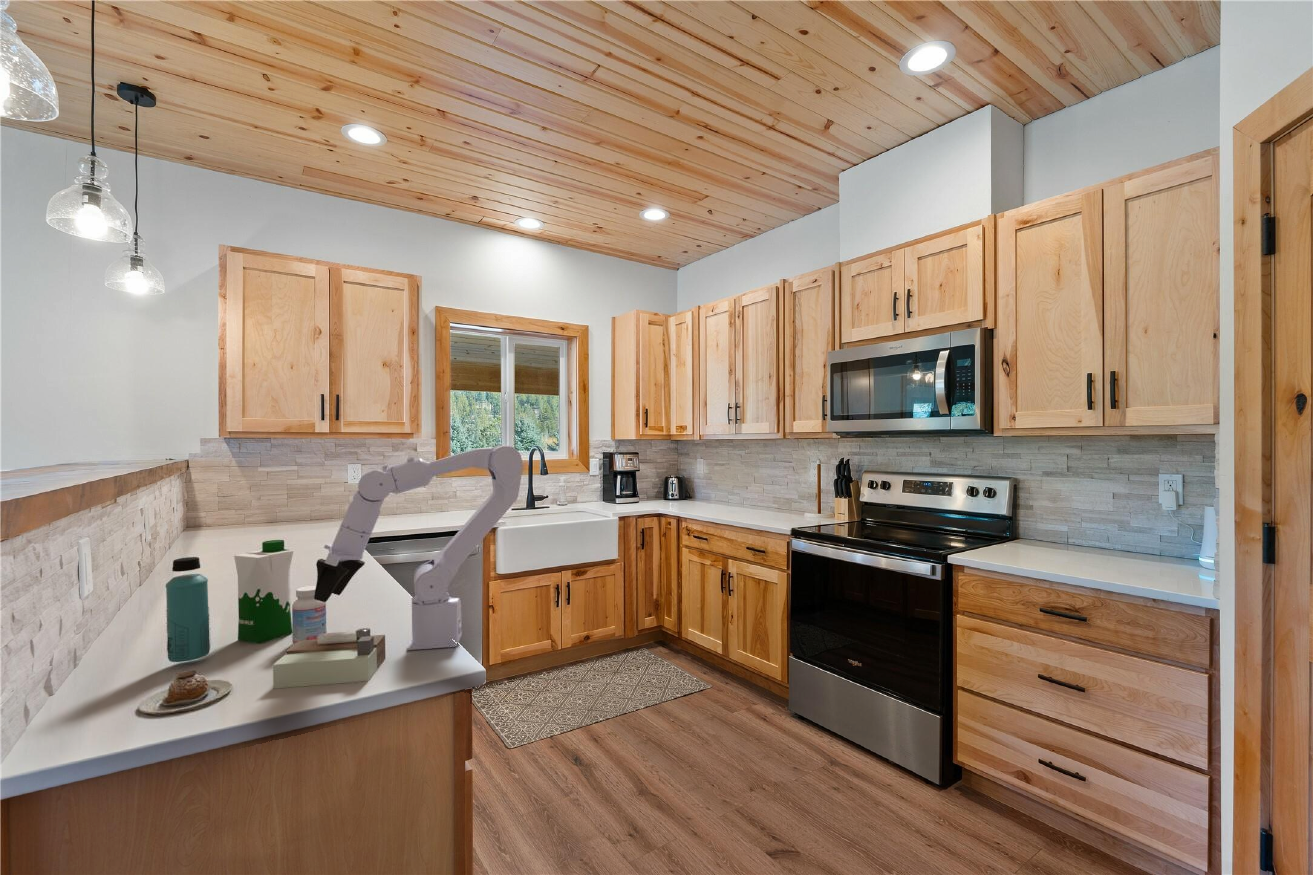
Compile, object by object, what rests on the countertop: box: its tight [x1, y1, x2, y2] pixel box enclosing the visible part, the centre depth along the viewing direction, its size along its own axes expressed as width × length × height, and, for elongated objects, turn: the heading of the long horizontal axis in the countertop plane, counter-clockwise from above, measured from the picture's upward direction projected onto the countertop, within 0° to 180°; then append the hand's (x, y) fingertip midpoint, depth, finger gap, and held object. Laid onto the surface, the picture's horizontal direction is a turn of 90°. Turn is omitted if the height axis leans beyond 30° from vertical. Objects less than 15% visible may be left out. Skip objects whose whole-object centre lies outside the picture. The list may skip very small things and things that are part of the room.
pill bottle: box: [291, 585, 328, 646], centre depth 123 cm, size 6×6×11 cm
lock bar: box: [317, 627, 371, 645], centre depth 109 cm, size 9×2×2 cm, turn 100°
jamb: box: [285, 634, 386, 670], centre depth 109 cm, size 15×6×4 cm, turn 100°
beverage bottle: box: [165, 556, 212, 663], centre depth 112 cm, size 6×7×20 cm
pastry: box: [137, 669, 234, 716], centre depth 96 cm, size 12×12×5 cm
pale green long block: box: [272, 635, 378, 689], centre depth 104 cm, size 15×5×6 cm, turn 100°
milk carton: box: [233, 539, 294, 645], centre depth 127 cm, size 9×9×20 cm
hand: (327, 596), depth 114 cm, fingers open, 7 cm apart
